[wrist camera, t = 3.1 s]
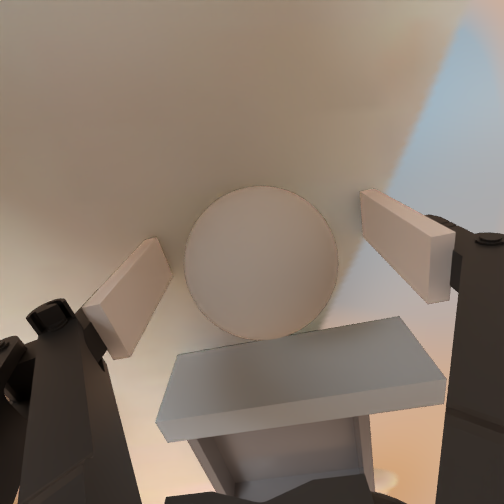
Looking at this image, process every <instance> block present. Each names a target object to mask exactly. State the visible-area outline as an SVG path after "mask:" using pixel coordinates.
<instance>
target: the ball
mask: <svg viewBox="0 0 504 504" xmlns="http://www.w3.org/2000/svg"><path fill="white" fill-rule="evenodd" d="M184 271H185V277H186V282H187V285H188V289H189V291H190V294H191V296H192V298H193V300H194V301H195V303H196V305H197V306H198V308H199V309H200V311H201V312H202V313H203V314H204V315H205V316H206V317H207V318H208V319H209V320H210V321H211V322H212V323H213V324H215V325H216V326H218V327H219V328H220V329H222V330H224V331H226V332H228V333H230V334H233V335H235V336H238V337H242V338H246V339H251V340H271V339H277V338H281V337H284V336H287V335H290V334H292V333H294V332H297V331H299V330H300V329H302V328H304V327H305V326H306V325H308V324H309V323H310V322H312V321H313V320H314V319H315V318H316V317H317V316H318V315H319V313H320V312H321V311H322V310H323V308H324V307H325V306H326V304H327V302H328V301H329V299H330V297H331V294H332V292H333V290H334V287H335V284H336V280H337V273H338V253H337V247H336V242H335V239H334V236H333V234H332V232H331V230H330V228H329V226H328V224H327V222H326V220H325V219H324V218H323V216H322V215H321V214H320V213H319V212H318V211H317V210H316V209H315V208H314V207H313V206H312V205H311V204H310V203H309V202H307V201H306V200H305V199H303V198H302V197H300V196H298V195H296V194H295V193H292V192H290V191H287V190H285V189H280V188H276V187H269V186H252V187H246V188H242V189H238V190H235V191H232V192H230V193H228V194H226V195H224V196H222V197H221V198H219V199H217V200H216V201H215V202H213V203H212V204H211V205H210V206H209V207H208V208H207V209H206V210H205V211H204V212H203V213H202V214H201V215H200V217H199V218H198V220H197V221H196V223H195V224H194V226H193V228H192V230H191V232H190V235H189V237H188V241H187V244H186V248H185V255H184Z"/></svg>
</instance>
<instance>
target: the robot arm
mask: <svg viewBox="0 0 504 504" xmlns="http://www.w3.org/2000/svg"><path fill="white" fill-rule="evenodd" d="M360 201H361V217H362V232H363V237H364V238H365V240H366V241H367V242H368V243H369V244H370V245H371V246H372V247H373V248H374V249H375V250H376V251H377V252H378V253H379V254H380V255H381V256H382V257H383V258H384V259H385V260H386V261H387V262H388V263H389V264H390V266H391V267H393V269H394V270H395V271H396V272H397V273H398V274H399V275H400V276H401V277H402V278H403V279H404V280H405V281H406V282H407V283H408V284H409V285H410V286H411V287H412V288H413V289H414V290H415V291H416V293H417V294H418V295H419V296H420V297H421V298H422V299H423V300H424V301H425V302H426V303H427V304H432V303H437V302H443V301H449V299H450V288H451V287H452V288H453V289H455V290H456V291H457V292H458V293H459V294H458V303H457V312H456V321H455V331H454V340H453V348H452V357H451V367H450V376H449V385H448V394H447V403H446V412H445V421H444V430H443V439H442V449H441V457H440V467H439V475H438V485H437V494H436V503H435V504H504V234H500V233H477V234H474V233H472V232H470V231H468V230H466V229H464V228H462V227H459V226H456V224H453V223H452V222H449V221H448V220H446V219H443V218H442V217H438V216H433V215H423V214H421V213H419V212H417V211H415V210H413V209H412V208H410V207H408V206H406V205H404V204H402V203H400V202H399V201H396V200H395V199H393V198H391V197H389V196H387V195H386V194H384V193H382V192H380V191H378V190H376V189H374V188H373V189H369V190H364V191H360ZM172 277H173V274H172V272H171V270H170V267H169V265H168V262H167V260H166V258H165V255H164V253H163V250H162V248H161V246H160V243H159V241H158V238H157V237H155V238H150V239H146V240H144V241H143V242H142V243H141V244H140V245H139V247H138V248H137V249H136V250H135V251H134V252H133V253H132V254H131V255H130V256H129V257H128V258H127V259H126V260H125V262H124V263H123V264H122V265H121V266H120V267H119V268H118V269H117V270H116V271H115V272H114V273H113V274H112V275H111V276H110V278H109V279H108V280H107V281H106V282H105V283H104V284H103V285H102V286H101V287H100V288H99V289H98V290H97V291H96V292H95V293H94V294H93V295H92V297H90V298H89V299H88V300H87V302H86V303H85V304H84V305H83V306H82V307H81V308H80V309H79V310H78V311H77V312H76V313H75V314H74V313H73V311H72V309H71V308H70V306H69V305H68V303H67V302H66V300H65V299H62V298H60V299H55V300H52V301H49V302H47V303H45V304H43V305H41V306H39V307H38V308H36V309H34V310H33V311H32V312H31V313H29V314H28V316H27V317H26V319H27V321H28V322H29V324H30V325H31V326H32V328H33V329H34V330H35V332H36V333H37V334H38V340H35V341H32V342H30V343H27V344H23V343H22V341H21V340H20V339H19V338H18V337H17V336H11V337H8V338H5V339H2V340H0V504H13V502H14V500H15V497H16V494H17V491H18V489H19V496H18V504H142V502H141V498H140V494H139V490H138V486H137V483H136V479H135V475H134V471H133V467H132V463H131V459H130V455H129V451H128V447H127V443H126V439H125V435H124V431H123V427H122V423H121V419H120V416H119V412H118V408H117V404H116V400H115V396H114V392H113V388H112V384H111V380H110V376H109V372H108V368H107V364H106V363H105V361H104V359H103V358H102V356H103V355H104V353H105V352H106V350H108V352H109V354H110V355H111V357H112V358H113V360H116V359H122V358H128V357H131V355H132V353H133V351H134V349H135V347H136V345H137V344H138V342H139V340H140V338H141V336H142V334H143V332H144V330H145V328H146V327H147V325H148V323H149V321H150V319H151V317H152V315H153V313H154V311H155V309H156V308H157V306H158V304H159V302H160V300H161V298H162V296H163V294H164V292H165V290H166V289H167V287H168V285H169V283H170V281H171V279H172ZM5 395H6V396H7V397H8V398H9V399H10V401H8V400H7V399H6V397H5ZM19 486H20V488H19ZM165 504H406V503H404V502H402V501H400V500H398V499H396V498H393V497H390V496H387V495H384V494H381V493H377V492H372V491H370V489H369V486H368V483H367V479H366V476H365V473H364V474H356V475H347V476H339V477H331V478H322V479H314V480H311V481H309V482H307V483H305V484H302V485H300V486H298V487H296V488H294V489H292V490H290V491H287V492H285V493H283V494H281V495H279V496H277V497H274V498H272V499H270V500H268V501H265V502H254V501H250V500H246V499H241V498H237V497H233V496H229V495H224V494H220V493H216V492H204V493H196V494H187V495H179V496H171V497H166V499H165Z"/></svg>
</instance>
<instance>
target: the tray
mask: <svg viewBox="0 0 504 504" xmlns="http://www.w3.org/2000/svg"><path fill="white" fill-rule="evenodd" d="M187 441H188V443H189V444H190V446H191V448H192V450H193V452H194V453H195V455H196V457H197V459H198V461H199V462H200V464H201V466H202V468H203V469H204V471H205V473H206V475H207V477H208V478H209V480H210V482H211V484H212V486H213V487H214V489H215V491H216V493H220V494H224V495H229V496H233V497H237V498H241V499H246V500H250V501H254V502H265V501H268V500H270V499H272V498H274V497H277V496H279V495H281V494H283V493H285V492H287V491H290V490H292V489H294V488H296V487H298V486H300V485H302V484H305V483H307V482H309V481H311V480H314V479H322V478H331V477H339V476H347V475H356V474H364V473H365V476H366V479H367V483H368V486H369V489H370V491H372V492H375V485H374V472H373V459H372V447H371V433H370V421H369V415H361V416H354V417H347V418H340V419H333V420H326V421H319V422H312V423H304V424H297V425H290V426H283V427H276V428H269V429H262V430H255V431H248V432H240V433H233V434H226V435H219V436H212V437H205V438H198V439H191V440H187Z"/></svg>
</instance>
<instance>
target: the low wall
mask: <svg viewBox="0 0 504 504" xmlns="http://www.w3.org/2000/svg"><path fill="white" fill-rule="evenodd" d="M446 380H447V379H446V377H445V376H444V375H443V373H442V372H441V371H440V370H439V368H438V367H437V366H436V364H435V363H434V362H433V360H432V359H431V358H430V356H429V355H428V354H427V353H426V351H425V350H424V348H423V347H422V346H421V344H420V343H419V342H418V340H417V339H416V338H415V336H414V335H413V334H412V333H411V331H410V330H409V328H408V327H407V326H406V324H405V323H404V322H403V321H402V319H401V318H400V317H399V316H398V317H392V318H386V319H381V320H375V321H369V322H364V323H358V324H352V325H346V326H341V327H335V328H329V329H323V330H318V331H312V332H306V333H301V334H295V335H289V336H284V337H281V338H277V339H271V340H261V341H255V342H249V343H243V344H238V345H232V346H226V347H221V348H215V349H209V350H203V351H198V352H192V353H186V354H181V355H177V357H176V361H175V364H174V367H173V370H172V373H171V376H170V379H169V382H168V385H167V388H166V391H165V394H164V397H163V400H162V403H161V406H160V409H159V412H158V415H157V419H156V422H155V423H156V424H157V426H158V428H159V429H160V431H161V433H162V434H163V436H164V437H165V439H166V441H167V442H168V443H169V442H176V441H183V440H191V439H198V438H205V437H212V436H219V435H226V434H233V433H240V432H248V431H255V430H262V429H269V428H276V427H283V426H290V425H297V424H304V423H312V422H319V421H326V420H333V419H340V418H347V417H354V416H361V415H369V414H375V413H383V412H390V411H397V410H404V409H411V408H418V407H426V406H433V405H439V404H444V398H445V389H446Z"/></svg>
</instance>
